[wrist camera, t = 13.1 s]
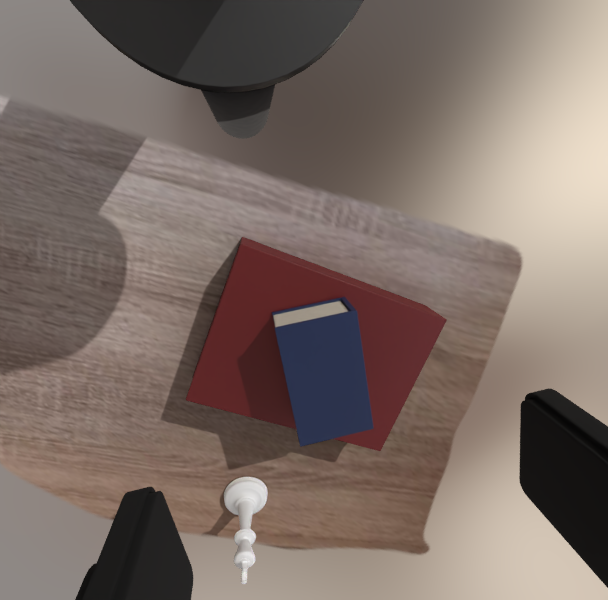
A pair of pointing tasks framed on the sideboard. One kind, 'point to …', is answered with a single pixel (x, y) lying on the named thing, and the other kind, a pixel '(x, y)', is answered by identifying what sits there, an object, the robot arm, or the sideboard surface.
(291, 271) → the hardback
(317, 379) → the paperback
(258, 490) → the chess piece
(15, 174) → the sideboard surface
